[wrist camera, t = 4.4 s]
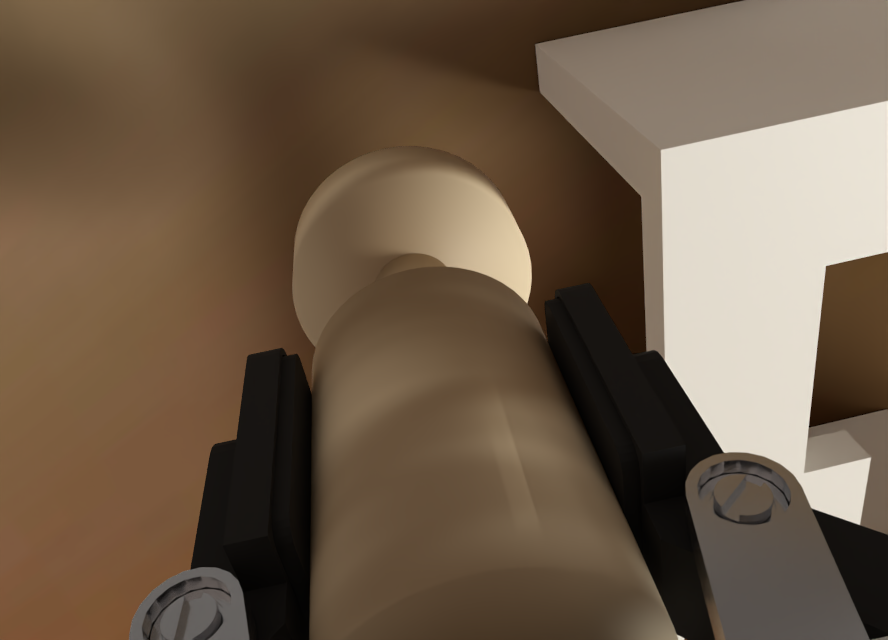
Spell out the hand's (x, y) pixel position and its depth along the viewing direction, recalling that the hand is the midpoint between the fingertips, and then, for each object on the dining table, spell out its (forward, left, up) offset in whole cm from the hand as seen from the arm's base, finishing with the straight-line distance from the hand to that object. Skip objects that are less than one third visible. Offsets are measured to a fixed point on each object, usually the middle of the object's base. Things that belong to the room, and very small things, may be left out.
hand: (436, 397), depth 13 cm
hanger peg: (0, 0, -5) cm, 5 cm away
